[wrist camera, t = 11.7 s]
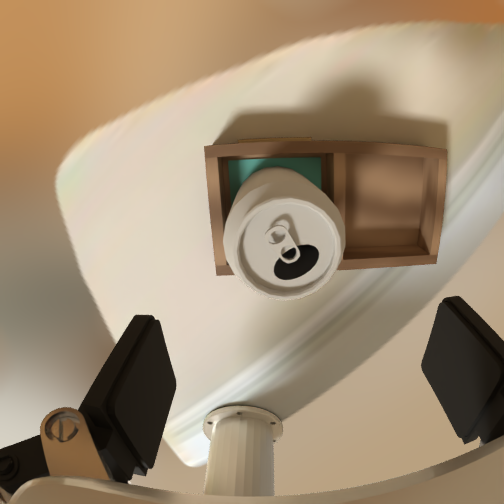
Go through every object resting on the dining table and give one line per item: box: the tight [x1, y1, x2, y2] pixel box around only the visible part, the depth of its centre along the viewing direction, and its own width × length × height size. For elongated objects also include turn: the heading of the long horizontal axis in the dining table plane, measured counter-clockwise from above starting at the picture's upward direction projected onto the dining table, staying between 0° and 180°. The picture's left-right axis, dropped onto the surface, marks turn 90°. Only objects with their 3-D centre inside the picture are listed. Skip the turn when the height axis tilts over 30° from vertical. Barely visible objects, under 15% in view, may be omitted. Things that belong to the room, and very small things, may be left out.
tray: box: [204, 137, 447, 276], centre depth 26 cm, size 12×22×4 cm, turn 93°
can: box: [223, 166, 346, 301], centre depth 22 cm, size 8×8×12 cm
